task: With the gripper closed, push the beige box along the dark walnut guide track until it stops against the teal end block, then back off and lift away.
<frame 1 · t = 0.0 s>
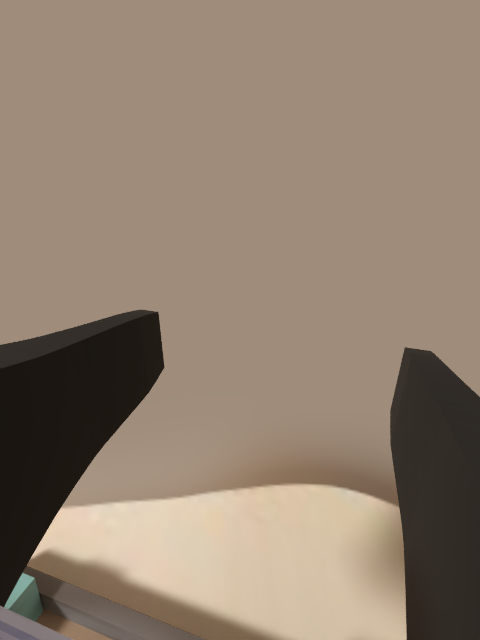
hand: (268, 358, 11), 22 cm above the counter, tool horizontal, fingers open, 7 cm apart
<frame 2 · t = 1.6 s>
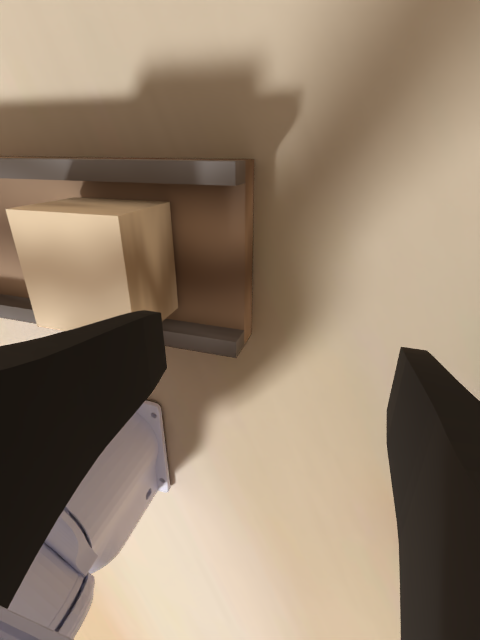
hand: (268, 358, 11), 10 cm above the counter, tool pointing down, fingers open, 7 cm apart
beige box: (102, 264, 19), point 4 cm above the counter, slide at 0.0 cm
guide track: (41, 237, 25), on the counter
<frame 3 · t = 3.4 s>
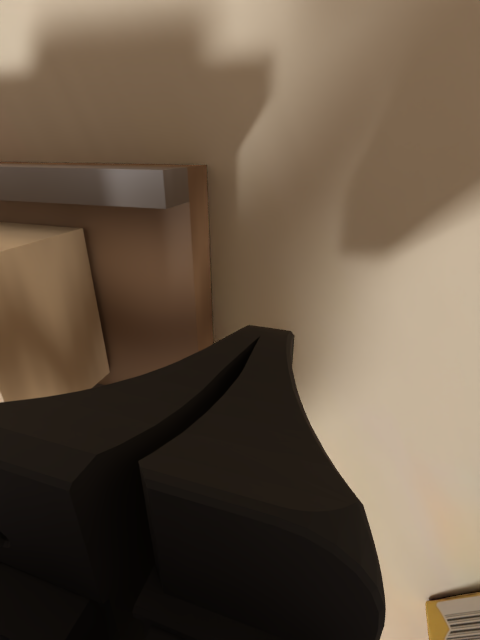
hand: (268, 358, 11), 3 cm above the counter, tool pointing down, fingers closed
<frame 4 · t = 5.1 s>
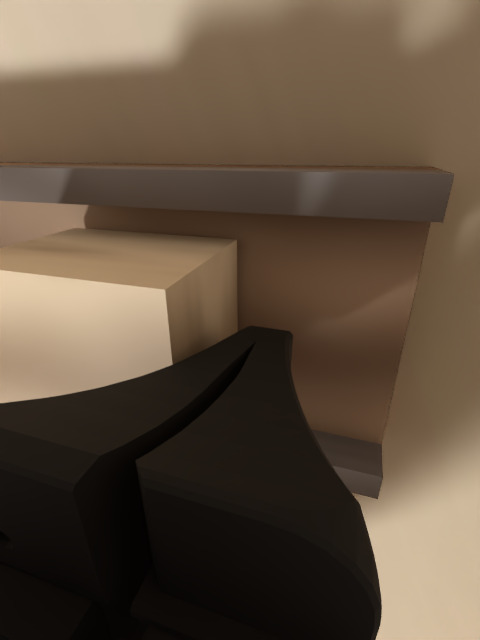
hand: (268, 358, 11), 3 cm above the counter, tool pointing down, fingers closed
beige box: (123, 345, 11), point 4 cm above the counter, slide at 1.3 cm, touching gripper
guide track: (48, 281, 17), on the counter
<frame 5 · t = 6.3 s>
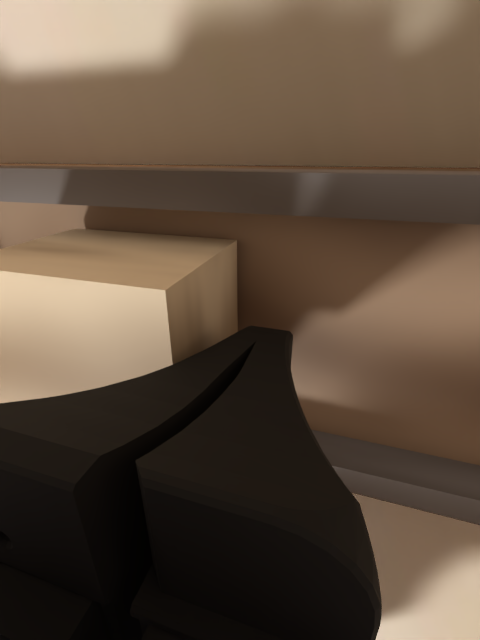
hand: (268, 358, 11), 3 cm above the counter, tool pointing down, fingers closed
beige box: (123, 345, 11), point 4 cm above the counter, slide at 8.3 cm, touching gripper
guide track: (188, 299, 15), on the counter
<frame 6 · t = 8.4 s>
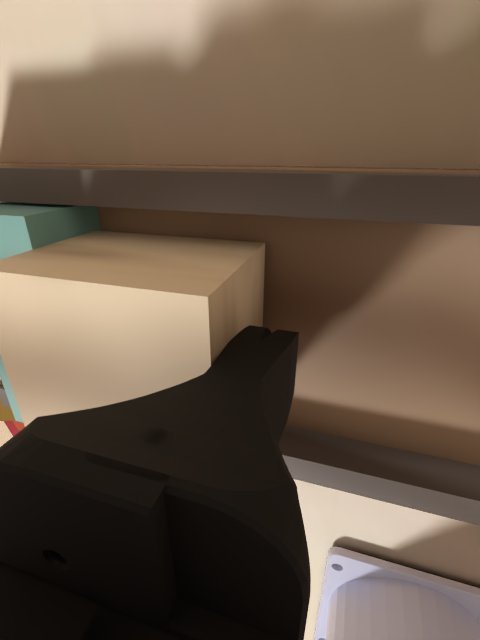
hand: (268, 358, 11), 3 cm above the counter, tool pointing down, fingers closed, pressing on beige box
beige box: (148, 351, 11), point 4 cm above the counter, slide at 14.3 cm, touching gripper, guide track
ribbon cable: (22, 539, 30), on the counter
guide track: (366, 322, 13), on the counter
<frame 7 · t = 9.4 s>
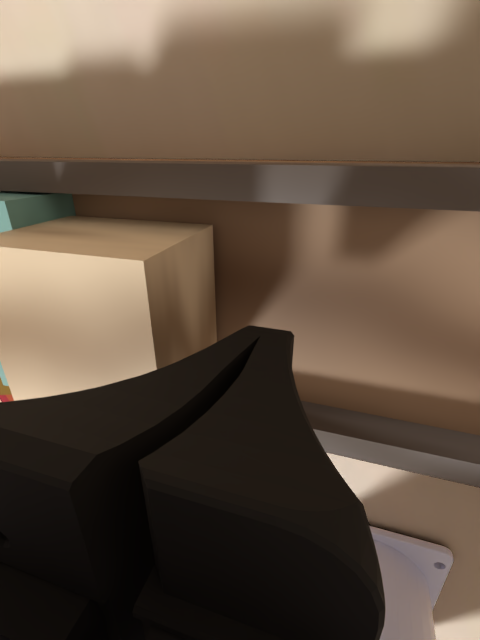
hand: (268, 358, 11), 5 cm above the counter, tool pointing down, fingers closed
beige box: (113, 318, 13), point 4 cm above the counter, slide at 14.3 cm, touching guide track
guide track: (308, 296, 14), on the counter
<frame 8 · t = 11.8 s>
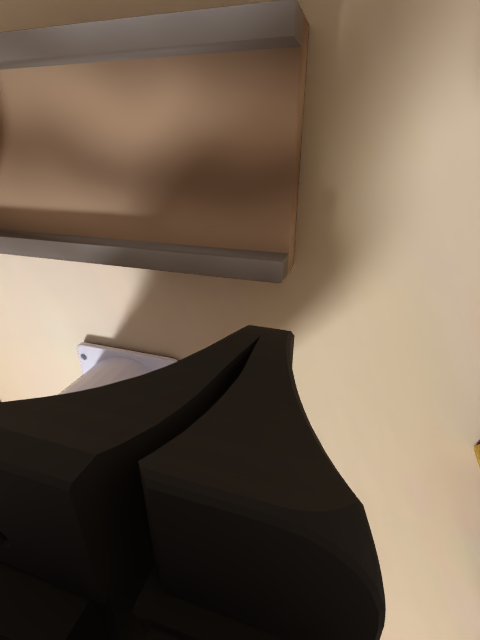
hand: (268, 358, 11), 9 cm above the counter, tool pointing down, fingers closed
guide track: (41, 157, 21), on the counter
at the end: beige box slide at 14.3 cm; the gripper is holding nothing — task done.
